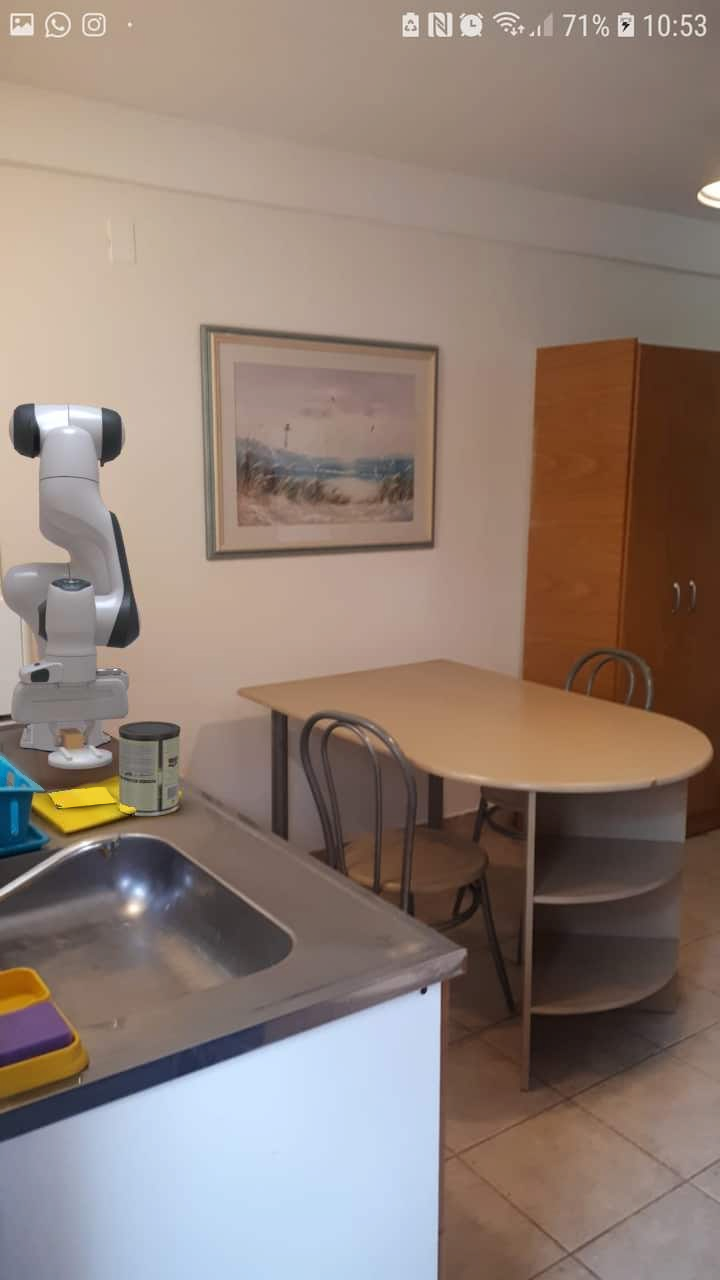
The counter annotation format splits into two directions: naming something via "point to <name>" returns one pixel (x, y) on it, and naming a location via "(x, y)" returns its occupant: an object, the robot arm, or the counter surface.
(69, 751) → the lid
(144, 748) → the coffee can
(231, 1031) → the counter surface
